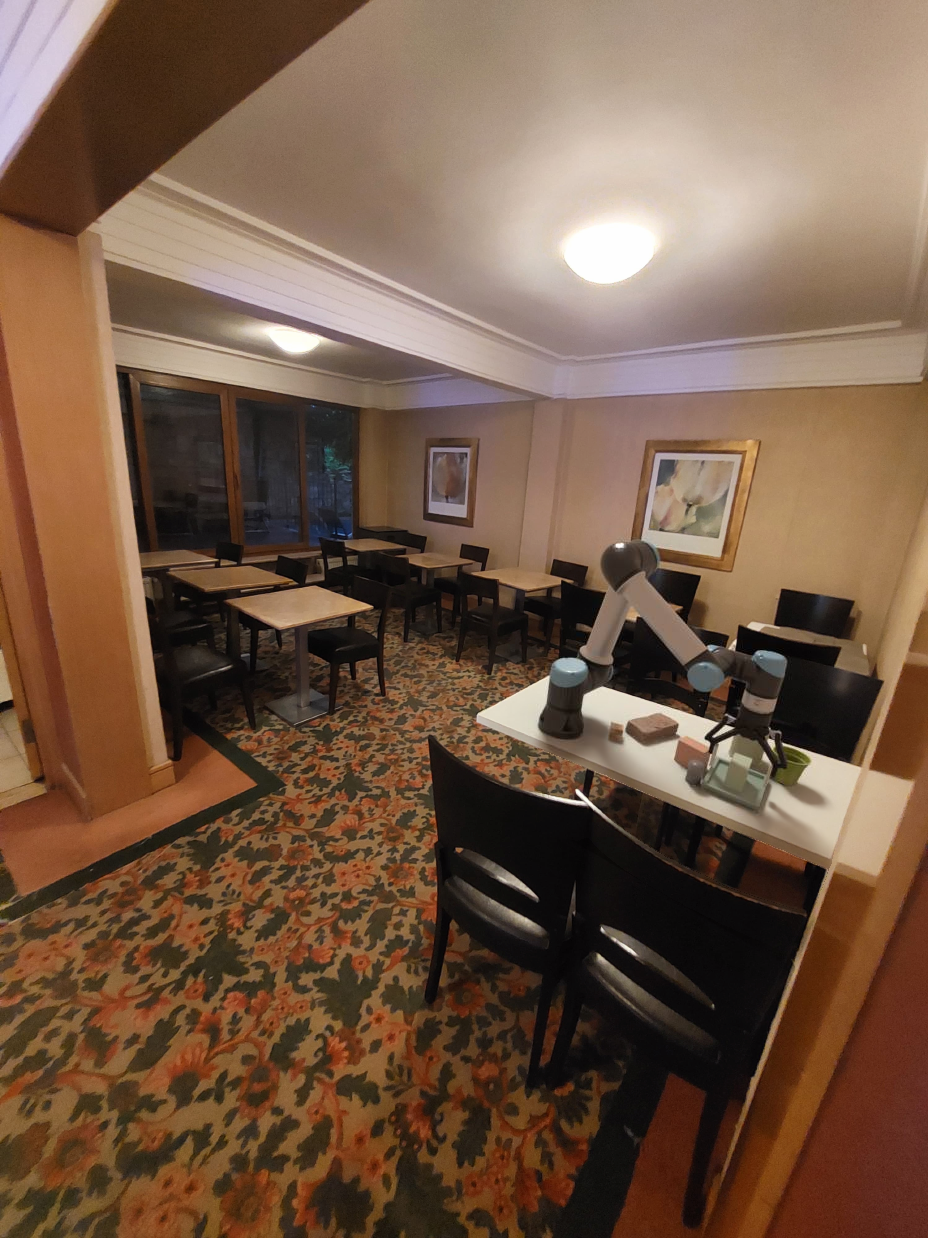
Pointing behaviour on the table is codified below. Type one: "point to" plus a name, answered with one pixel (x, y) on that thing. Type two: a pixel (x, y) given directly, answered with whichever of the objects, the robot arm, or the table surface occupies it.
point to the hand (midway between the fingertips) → (737, 774)
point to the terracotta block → (691, 751)
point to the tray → (746, 798)
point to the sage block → (737, 772)
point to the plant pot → (791, 766)
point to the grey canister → (694, 772)
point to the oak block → (616, 731)
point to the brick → (651, 727)
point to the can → (747, 748)
